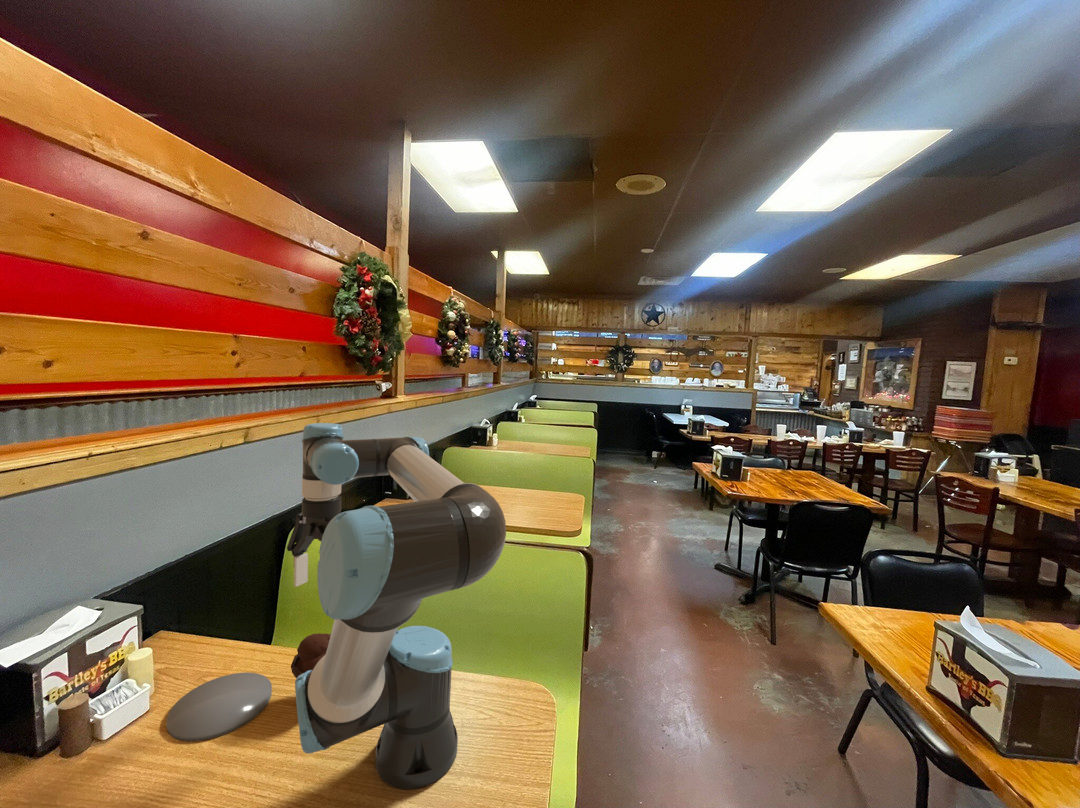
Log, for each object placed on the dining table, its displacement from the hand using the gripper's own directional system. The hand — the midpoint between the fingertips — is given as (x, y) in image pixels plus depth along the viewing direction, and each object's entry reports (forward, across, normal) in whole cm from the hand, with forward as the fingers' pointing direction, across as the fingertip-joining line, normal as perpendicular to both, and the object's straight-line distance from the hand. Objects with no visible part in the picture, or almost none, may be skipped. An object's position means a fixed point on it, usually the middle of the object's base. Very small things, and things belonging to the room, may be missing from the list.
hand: (320, 592), depth 95 cm
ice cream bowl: (+24, 0, 0) cm, 24 cm away
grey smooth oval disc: (+24, +15, +12) cm, 31 cm away
